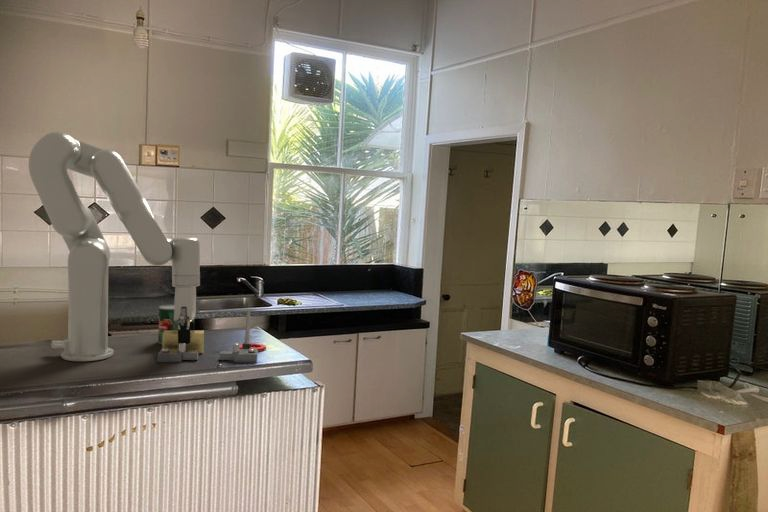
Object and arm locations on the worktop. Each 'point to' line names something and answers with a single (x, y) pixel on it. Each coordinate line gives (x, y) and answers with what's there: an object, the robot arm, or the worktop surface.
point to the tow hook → (247, 337)
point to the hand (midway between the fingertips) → (186, 339)
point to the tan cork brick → (195, 344)
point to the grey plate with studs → (182, 354)
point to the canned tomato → (166, 320)
